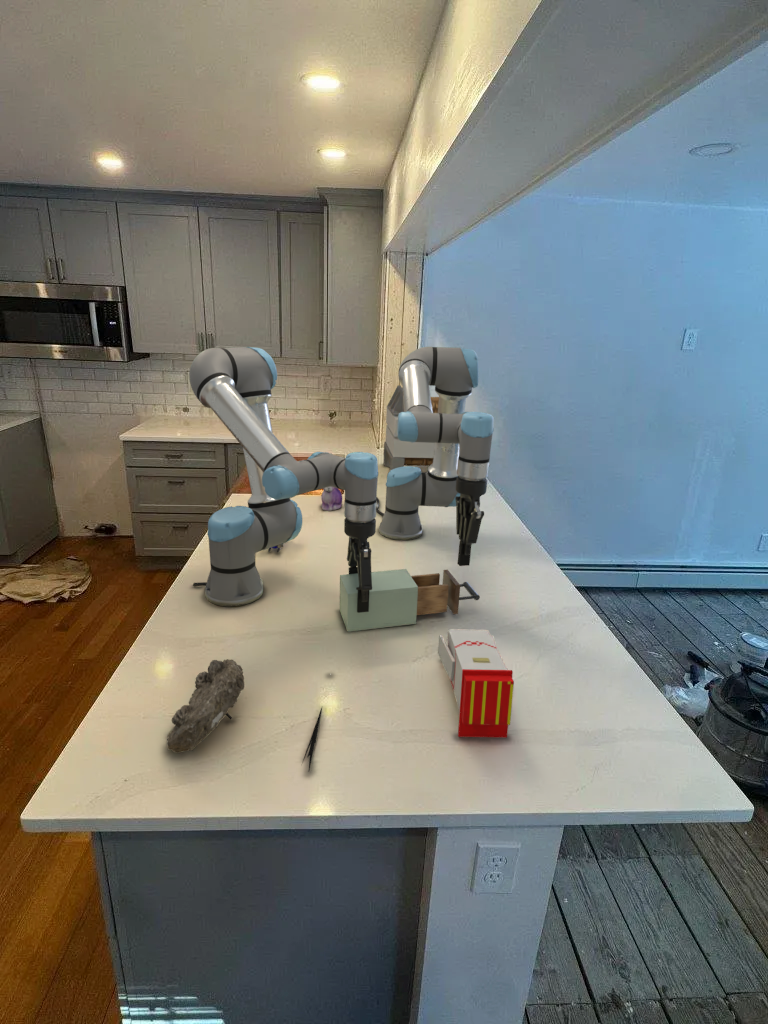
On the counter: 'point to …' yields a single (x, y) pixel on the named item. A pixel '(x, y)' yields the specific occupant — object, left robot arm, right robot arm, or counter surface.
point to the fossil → (206, 705)
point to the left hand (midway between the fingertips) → (358, 600)
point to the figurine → (331, 498)
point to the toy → (478, 682)
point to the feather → (313, 740)
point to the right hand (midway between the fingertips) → (463, 564)
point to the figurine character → (276, 547)
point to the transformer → (404, 451)
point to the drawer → (440, 593)
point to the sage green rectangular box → (380, 600)
